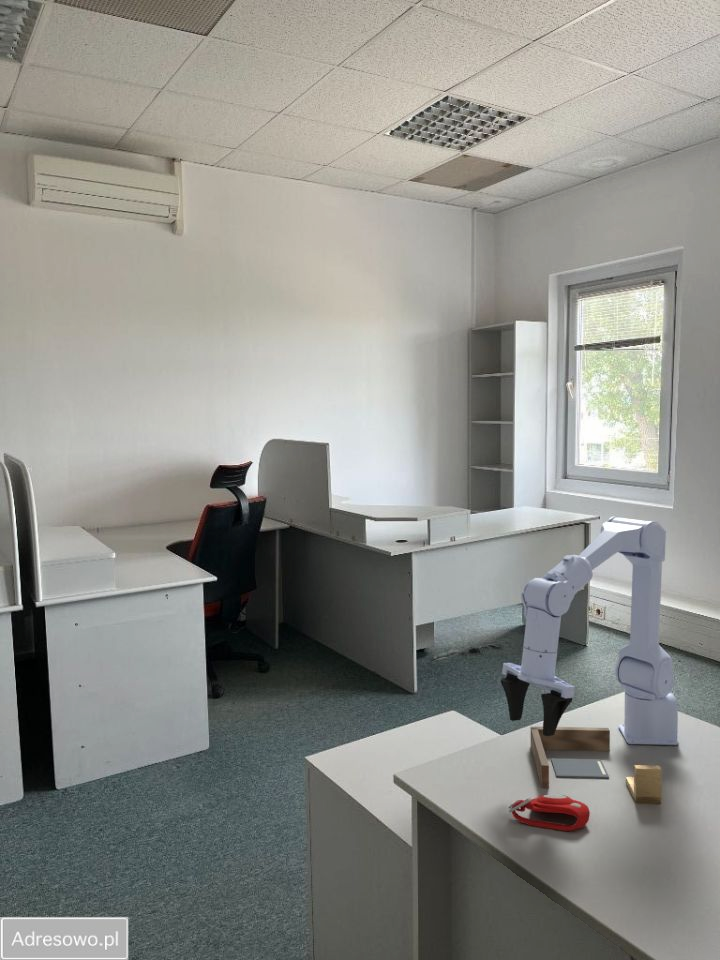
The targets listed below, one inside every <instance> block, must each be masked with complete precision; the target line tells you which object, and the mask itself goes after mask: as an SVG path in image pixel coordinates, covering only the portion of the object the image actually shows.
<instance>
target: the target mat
mask: <svg viewBox="0 0 720 960" xmlns="http://www.w3.org/2000/svg"><path fill="white" fill-rule="evenodd" d="M550 760H551V764H552V767H553V770H554V773H555V776H556V778H575V779H576V778H578V779H579V778H580V779H610V775H609V774H608V772H607V769H606V767H605V765H604V762H603V760H602V759H596V758H594V759H592V758H591V759H590V758H587V759H586V758H553V757H552V758H550Z"/></svg>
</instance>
